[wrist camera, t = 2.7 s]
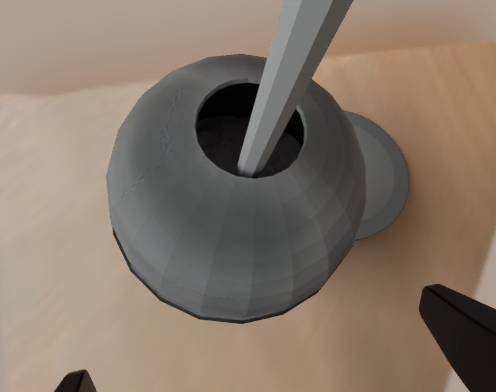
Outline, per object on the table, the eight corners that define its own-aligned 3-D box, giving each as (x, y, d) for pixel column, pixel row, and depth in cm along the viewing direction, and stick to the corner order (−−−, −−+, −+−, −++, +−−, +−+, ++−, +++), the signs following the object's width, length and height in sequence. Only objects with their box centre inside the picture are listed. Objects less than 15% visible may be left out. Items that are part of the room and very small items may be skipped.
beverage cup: (276, 197, 23) (608, -375, 4) (286, 314, 20) (1242, 335, 2) (163, 199, 22) (-132, -522, 3) (160, 321, 20) (-1215, 566, 1)
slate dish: (407, 244, 23) (418, 240, 21) (271, 239, 22) (274, 235, 20) (390, 122, 25) (399, 113, 24) (269, 115, 25) (272, 105, 23)
